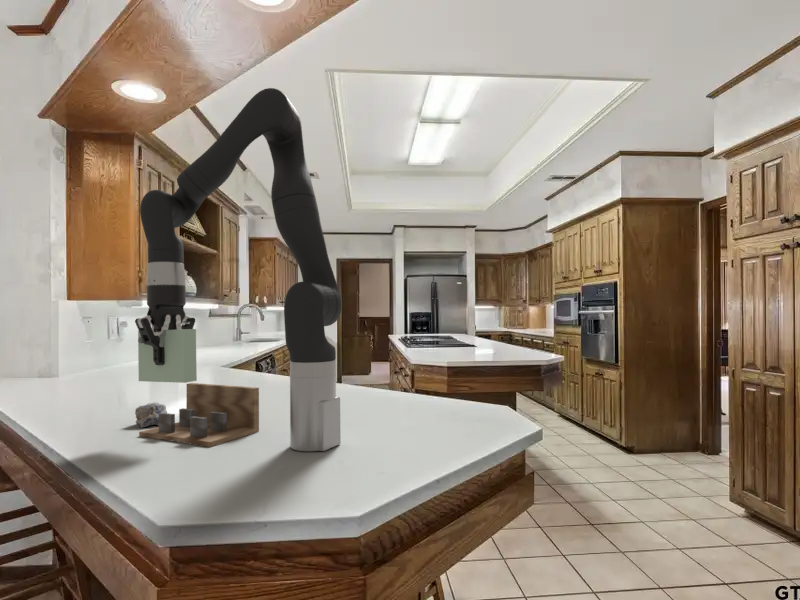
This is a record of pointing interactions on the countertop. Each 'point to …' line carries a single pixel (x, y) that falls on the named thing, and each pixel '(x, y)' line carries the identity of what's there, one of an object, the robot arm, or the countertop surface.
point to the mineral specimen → (149, 414)
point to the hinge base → (211, 416)
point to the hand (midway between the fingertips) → (167, 363)
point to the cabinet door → (170, 358)
